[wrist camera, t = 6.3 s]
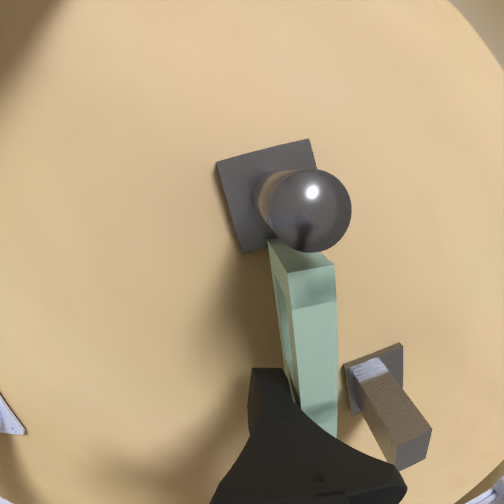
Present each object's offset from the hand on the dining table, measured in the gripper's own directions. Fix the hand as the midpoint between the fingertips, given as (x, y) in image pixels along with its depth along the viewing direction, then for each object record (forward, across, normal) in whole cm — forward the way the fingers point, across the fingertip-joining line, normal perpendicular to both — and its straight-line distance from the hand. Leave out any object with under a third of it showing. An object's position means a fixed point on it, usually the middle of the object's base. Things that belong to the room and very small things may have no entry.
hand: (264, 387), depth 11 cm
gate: (+2, -1, -1) cm, 2 cm away
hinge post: (+2, 0, -7) cm, 7 cm away
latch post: (+2, -6, +2) cm, 7 cm away
